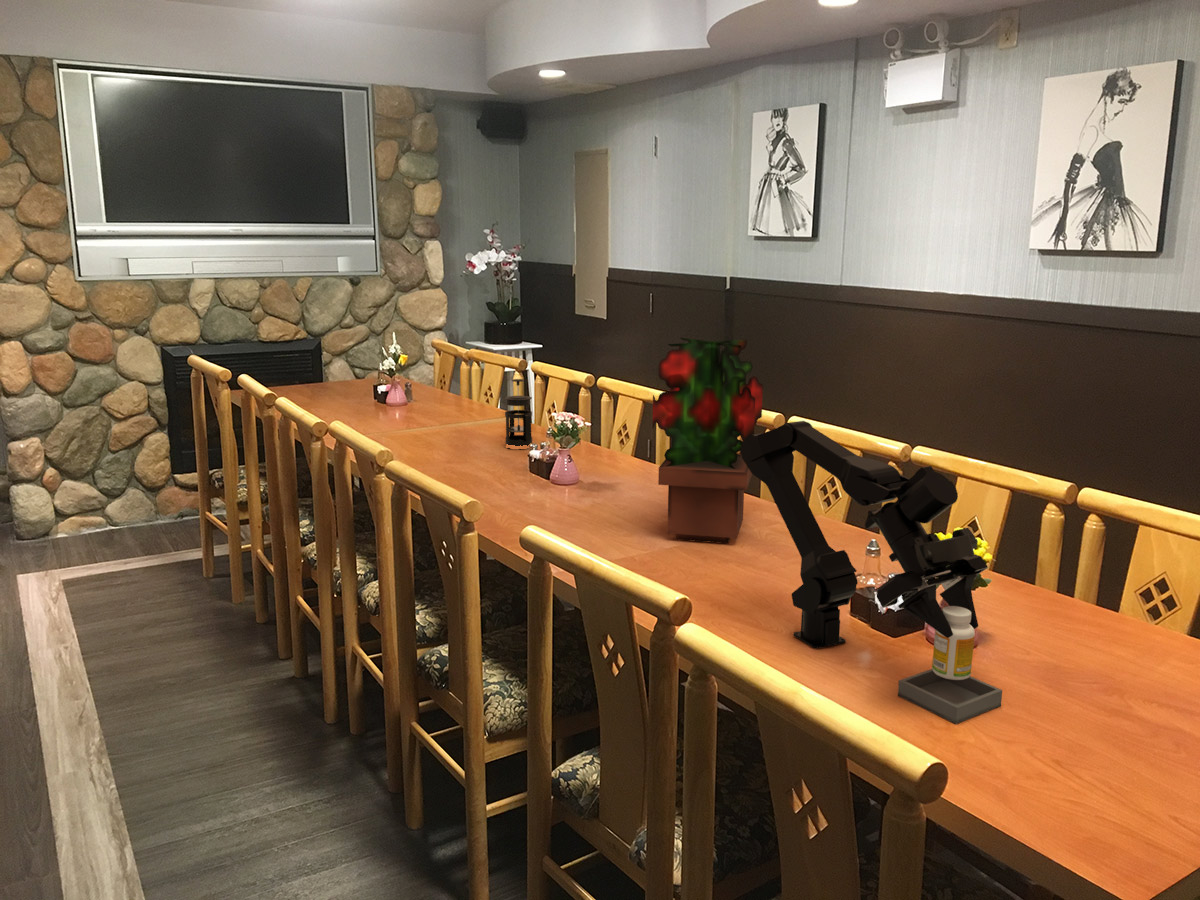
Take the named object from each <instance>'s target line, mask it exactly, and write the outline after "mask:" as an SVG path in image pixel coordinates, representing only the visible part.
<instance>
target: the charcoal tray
mask: <svg viewBox="0 0 1200 900" xmlns="http://www.w3.org/2000/svg"><path fill="white" fill-rule="evenodd" d="M897 696H898V697H899V698H902V699H904V701H905V700H906V701H908V702H910V703H912V704H913V705H916V706H917V707H920V708H922V709H924V710H925V711H928V712H930V713H932V714H934V715H937V716H938V717H941V718H942V719H944V720H946V721H948V722H950V723H952V724H954V725H957V724H960V723H963V722H966V721H968V720H970V719H973V718H975V717H977V716H980V715H983V714H985V713H988V712H990V711H993V710H995V709H997V708H999V707H1001V706H1002V701H1003V700H1002V699H1003V689H1001V688H998V687H996V686H994V685H992V684H990V683H987V682H986V681H983V680H980V679H977V678H975V677H974V676H971V675H970V676H969V678H967V679H963V680H951V679H946V678H943V677H940V676H938V675H937V674H935V673H934V672H933V670H932V668H930V669H927V670H924V671H922V672H918V673H916V674H913V675H910V676H907V677H905V678H902V679H899V680H898V688H897Z"/></svg>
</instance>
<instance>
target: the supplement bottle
mask: <svg viewBox="0 0 1200 900" xmlns="http://www.w3.org/2000/svg"><path fill="white" fill-rule="evenodd" d="M941 610H942V612H943V613H944V615H945V617H946V619H947V621H948V623H949V625H950V627H951V630H952V632H953V635H952V636H951V637H949V638H946V637H945V636H944V635H942V634H941V633H939V632H938V631H937V630H935V629H934V638H933V640H934V642H933V651H932V653H933V655H932V664H931V669H932V670H933V672H934V673H935V674H937V675H938V676H940V677H943V678H946V679H951V680H963V679H967V678H969V676H971V674H972V666H973V665H972V663H973V654H974V647H975V636H976V635H975V633H976V632H975V629H974V628H973V627H972V626H971V625H970V624H969V623H970V622H971V611H970V610H968V609H966V608H963V607H958V606H949V605H947V606H944V607H942V608H941Z"/></svg>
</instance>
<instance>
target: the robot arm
mask: <svg viewBox="0 0 1200 900" xmlns="http://www.w3.org/2000/svg"><path fill="white" fill-rule="evenodd" d="M742 442H743V444H742V446H741V451H740V454H741V456H742V459H743V461H744V462H745V464H746V465H747V467H748V468H749V470H750V471H751V473H752V476H754V477H755V478H757V479H758V480H760V481H761V482H763V483H764V484H765V485H766V487H767V488H768V490H769V492H770V495H771V497H772V499H773V502H774V503H775V506H776V507H777V509H778V511H779V513H780V516H781V518H782V519H783V522H784V524H785V526H786V528H787V530H788V532H789V534H790V536H791V538H792V539H791V540H792V541H793V542H794V545H795V547H796V549H797V551H798V553H799V555H800V558H801V564H800V575H799V576H800V579H801V582H802V584H801V585H800V586H799V587H798V588H796V589H795V590H794V591H793V592H792V593H791V600H792V605H793V607H795V608H797V609H800V610H801V619H800V620H801V622H800V623H801V624H800V630H799V631H794V632H793V634H792V635H793V637H795V638H797V640H800V641H802V642H803V643H805V644H806V645H808V646H809V647H811V648H813V649H822V648H823V649H824V648H827V647H832V646H837V645H842V644H843V645H844V644H846V639H845V638H843V637H842V636H840V629H841V619H840V615H841V609H840V608H839V607H842V606H848V605H849V604H850V601H851V599H852V597H853V596H854V594H855V593H856V591H857V585H858V577H857V575H856V572H857V569H856V568H855V567H854V566H853V564H852V562H851V560H850V557H849V554H848V553H847V551H846V550H844V549H841V550H839V551H838V550H837V551H836V550H835V549H834V548H832V547H831V546H830V545H829V544H828V542H827V540H826V538H825V536H824V534H823V532H822V529H821V528H820V525H819V523H818V522H817V520H816V518H815V516H814V513H813V511H812V510H811V507H810V506H809V502H808V501H807V499H806V497H805V495H804V493H803V491H802V488H801V487H800V485H799V483H798V482H797V479H796V477H795V474H794V463H795V462H794V461H795V457H794V456H795V455H794V452H798V453H799V454H801V455H802V456H804V457H805V458H807V459H808V460H810V461H811V462H812V463H814V464H815V465H817V466H819V467H820V468H822V469H823V470H825V472H828V473H829V474H831V475H832V476H834V477H835V478H836V479H837V480H838V481H840V484H841V487H842V490H843V491H844V492H845V494H847V495H848V496H849V498H851V499H852V500H853V501H854V502H855V503H856V504H858V505H860V506H862V507H863V506H864V507H867V506H872V505H876V504H883V503H884V504H883V505H882V506H881V507H880V508H876V509H872V510H871V509H870V510H868V511H867V517H866V520H865V523H864V528H866V529H867V530H868V529H872V528H876V527H877V528H878V529H879V531H880V532H881V534H882V536H883V537H884V539H885V541H886V542H887V544H888V545H889V548H890V549H891V552H892V553H890V554H889V555H888V558H889V560H890V561H891V562H892V563H893V562H898V563H899V565H900V567H901V568H902V570H903V572H902V573H898V574H895V575H893V576H892V577H891V578H890V579H888V580H886V581H885V582H884V583H882V585H880V586H879V587H878V588H877V589H876V598H877V600H878V602H879V603H880V605H881V608H882V609H883V608H887V607H891V606H895V605H896V604H898V601H899V598H900V597H901V599H902V601H903V602H901V603H900V604H898V605H897V606H898V608H899V609H900V610H901V609H904V610H906V611H907V612H909V613H910V614H912V615H913V616H915V617H917V618H918V619H920V620H921V621H923V622H924V623H925V624H927V625H929V626H930V627H931V628H933V629H934V631H935V630H937V631H938V632H939V633H941V634H942V635H944V636H945V637H946V638H949V637H951V636H952V635H953V632H952V630H951V627H950V625H949V623H948V621H947V619H946V617H945V615H944V613H943V612H942V608H941V606H940V604H939V602H938V600H937V585H941V586H942V588H943V589H944V591H942V592H941V593H939V596H940V597H941V598H942V600H943V601H945V603H946V604H947V605H948V606H958V607H963V608H966V609H968V610H970V611H971V622H970V623H969V624H970V625H971V626H972V627H973V628H974V630H975V629H977V628H978V627H979V622H978V617H977V613H976V608H975V605H974V599H973V593H972V587H973V584H974V581H975V580H976V579H977V578H978V575H980V574H981V573H982V572H984V571H986V570H987V569H988V568H989V566H988V564H987V563H986V561H985V560H984V559H983V557H982V555H978V554H975V551H974V550H975V549H976V548H977V546H978V543H979V541H978V539H977V538H976V536H975V535H974V533H973V532H972V531H971V530H970V529H969V527H965V528H960V529H955V530H953V531H952V536H951V537H950V538H949V537H948V538H945V539H940V538H939V536H938V535H937V533H934V532H932V533H928V532H927V531H926V529H925V528H924V526H923V525H922V524H929V523H931V522H932V521H934V520H935V519H936V518H937V517H939V516H940V515H941V514H943V513H944V512H945V511H946V510H948V509H949V508H950V507H951V506H953V505H954V504H955V503H956V502H957V501H958V497H959V496H958V493H959V492H958V490H957V488H956V486H955V484H954V482H953V481H951V480H949V479H948V478H947V477H946V476H945V475H943V474H942V473H940V472H938V471H937V472H936V471H935V470H934V468H933V467H932V465H927V466H921V467H920V468H918V469H917V470H916V471H915V473H914V474H913V475H912V476H911V477H910V478H909V477H907V476H905V475H903V474H901V473H900V471H899V470H898V469H897V468H895V467H894V466H893V465H891V464H888V463H886V462H882V461H880V460H878V459H872V458H869V457H868V458H867V457H863V456H860V455H857V454H856V453H854V452H852V451H851V450H849V449H848V448H846V447H845V446H843V445H842V444H840V443H838V442H837V441H835V440H834V439H832V438H830V437H829V436H827V435H826V434H824V433H823V432H821V431H819V430H818V429H816V428H814V426H813V425H812V424H811V423H810V422H807V421H805V420H800V421H790V422H785V423H783V424H782V425H780V426H778V427H775V428H774V429H770V430H769V431H766V432H763V433H754V435H748V436H747V437H746V438H745V439H744V441H743V440H742ZM895 499H896V501H895V502H894V500H895ZM886 502H887V503H886Z"/></svg>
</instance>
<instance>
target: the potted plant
mask: <svg viewBox="0 0 1200 900" xmlns="http://www.w3.org/2000/svg"><path fill="white" fill-rule="evenodd" d="M680 339H681V340H682V341H687V342H683V343H668V344H667V345H668V346H670V347H678V349H671V350H668V352H667V353H666V357H665V358H662V359H661V360H660V361H659V363H658V377H659V378H658V379H660V380H661V381H664V382H665V385H666V387H668V388H669V391H663V392H661V393H660V394H659V395H658V399H656V398H655V397H656V396H655V395H654V394H652V429H654V428H655V425H656V424H657V427H658V428H659V429H660V430H663V431H664V433H665V436H666V437H669V438H671V447H669V448H668V449H666V450H665V452H664V455H663V456H664V458H665V459H664V461H662V463H661V464H660V465H659V466H658V485H659V486H668V490H667V491H668V492H667V498H668V500H667V534H673V535H677V536H676V537H677V539H683V540H682V541H690V540H695V541H694V542H703V541H710V542H709V543H717V542H721V543H720V544H730V541H731V539H737V538H738V535H739V533H740V529H741V527H742V524H743V520H744V505H745V501H744V500H745V491H747V490H748V487H749V485H750V482H751V479H752V477H753V474H752V473H751V471H750V470H749V468H748V467H747V465H746V464H745V462H744V461H743V459H742V456H741V453H739V452H741V446H742V444H743V441H744V439H745V438H746V437H747V436H748V435H754V434H755V426H756V425H757V422H758V420H759V419H762V417H763V395H764V394H763V393H764V390H763V389H764V384H763V383H760V382H759V379H758V377H757V376H755V375H754V376H750V378H749V380H748V383H747V374H750V373H751V372H752V370H753V368H754V367H753V363H752V362H751V361H749V360H742V361H741V359H740V356H739V355H740V354H741V352H742V351H743V350H745V349H746V348H747V345H748V339H735V340H734V339H733V340H721V341H720V340H718V341H717V340H716V341H709V340H704V339H703V340H702V339H694V338H688V337H687V338H686V337H680ZM721 346H723V347H724V349H722V350H721ZM739 437H740V438H741V439H738V438H739Z"/></svg>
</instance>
